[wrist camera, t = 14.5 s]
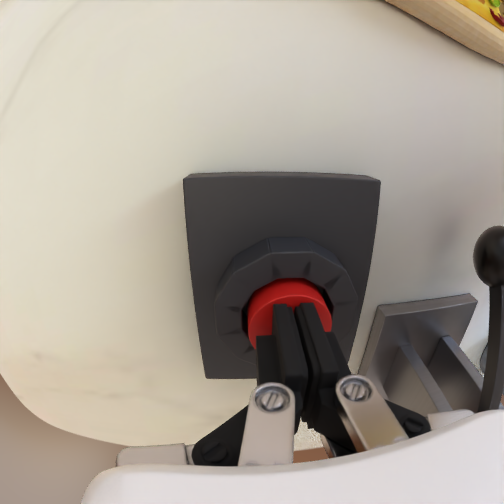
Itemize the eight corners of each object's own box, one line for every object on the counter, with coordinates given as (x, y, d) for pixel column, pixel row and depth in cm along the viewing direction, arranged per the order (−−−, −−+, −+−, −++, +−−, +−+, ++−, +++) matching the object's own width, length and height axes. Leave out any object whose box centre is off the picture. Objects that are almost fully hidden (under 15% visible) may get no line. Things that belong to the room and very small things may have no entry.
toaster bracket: (377, 305, 16) (479, 476, 5) (469, 293, 17) (567, 399, 5) (347, 401, 20) (387, 531, 8) (430, 382, 20) (483, 482, 9)
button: (246, 275, 12) (247, 296, 11) (326, 273, 12) (337, 293, 11) (248, 338, 14) (248, 362, 12) (317, 335, 14) (325, 358, 12)
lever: (459, 231, 12) (499, 217, 9) (491, 232, 12) (528, 221, 9) (435, 476, 10) (461, 498, 6) (469, 458, 10) (496, 475, 7)
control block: (189, 173, 13) (172, 185, 10) (367, 175, 13) (400, 187, 10) (207, 360, 18) (202, 400, 14) (339, 354, 18) (353, 391, 15)
